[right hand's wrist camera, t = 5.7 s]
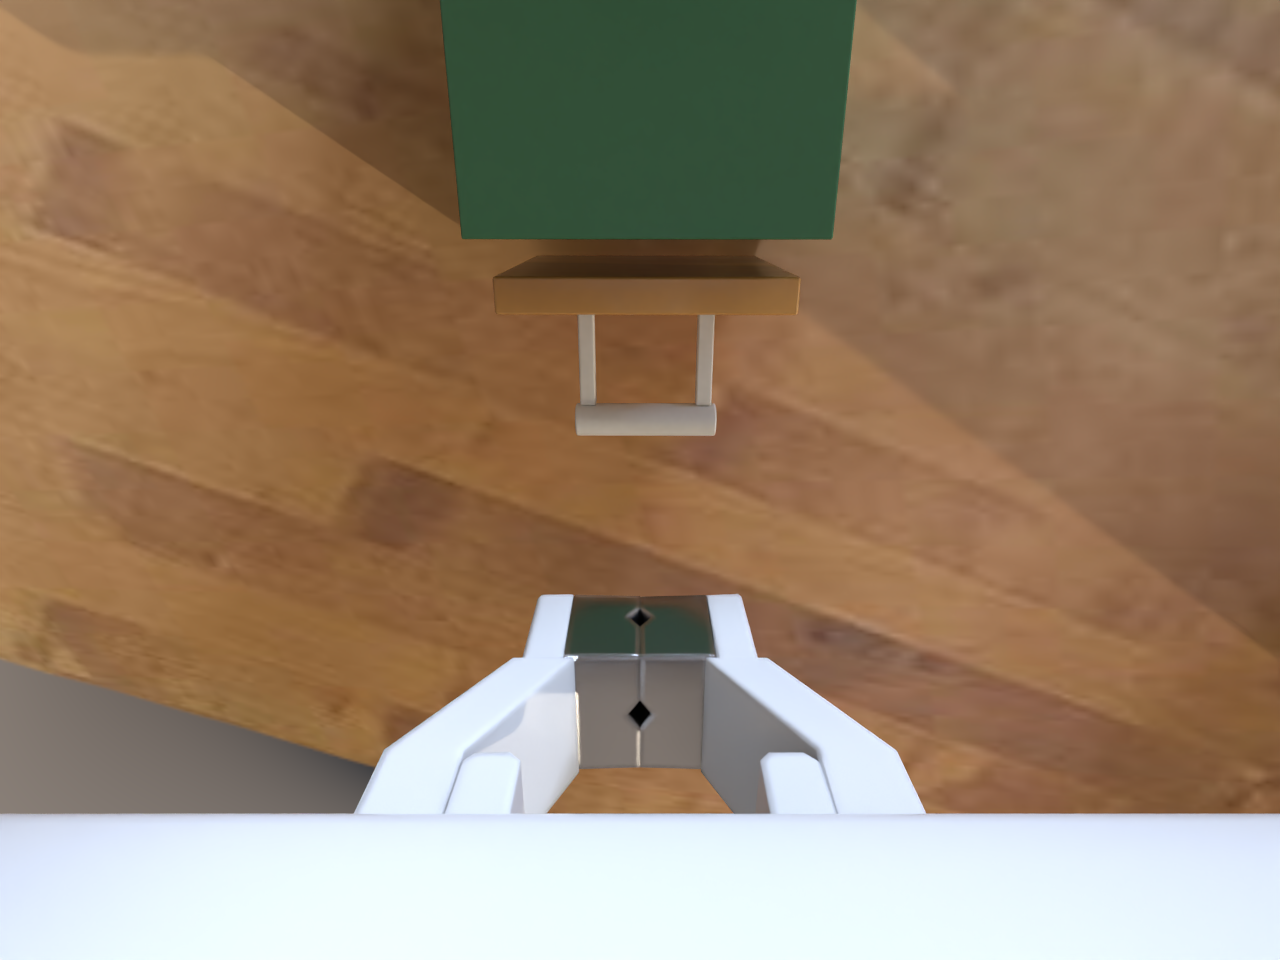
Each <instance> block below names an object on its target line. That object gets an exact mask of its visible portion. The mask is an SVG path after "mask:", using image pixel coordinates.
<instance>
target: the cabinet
mask: <svg viewBox="0 0 1280 960" xmlns="http://www.w3.org/2000/svg"><path fill="white" fill-rule="evenodd" d="M856 1H857V0H440V8H441V18H442V29H443V40H444V51H445V62H446V73H447V84H448V95H449V106H450V116H451V127H452V138H453V149H454V160H455V171H456V182H457V193H458V204H459V214H460V225H461V236H462V239H832V238H833V230H834V220H835V210H836V200H837V190H838V180H839V170H840V160H841V150H842V140H843V130H844V120H845V110H846V100H847V90H848V80H849V70H850V60H851V50H852V40H853V30H854V20H855V11H856Z"/></svg>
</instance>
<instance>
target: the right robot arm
mask: <svg viewBox="0 0 1280 960" xmlns="http://www.w3.org/2000/svg"><path fill="white" fill-rule="evenodd" d="M628 767H650V768H686V769H701V772H702V774H703V775H704V776H705V777H706V779H707V780H708V781H709V782H710V784H711V785H712V786H713V788H714V789H715V790H716V791H717V793H718V794H719V795H720V796H721V798H722V799H723V800H724V801H725V803H726V804H727V805H728V807H729V808H730V809H731V810H732V812H733V813H734V814H546V813H547V812H548V811H549V810H550V808H551V807H552V806H553V805H554V803H555V802H556V801H557V800H558V798H559V797H560V796H561V794H562V793H563V792H564V791H565V789H566V788H567V787H568V786H569V784H570V783H571V782H572V781H573V779H574V778H575V777H576V775H577V774H578V773H579V769H593V768H628ZM0 960H1280V814H926V812H925V810H924V808H923V806H922V804H921V802H920V799H919V797H918V795H917V793H916V791H915V789H914V787H913V785H912V782H911V780H910V778H909V776H908V774H907V772H906V770H905V768H904V765H903V763H902V761H901V759H900V757H899V755H898V753H897V751H896V750H895V749H894V748H892V747H891V746H889V745H888V744H887V743H885V742H884V741H882V740H881V739H880V738H878V737H877V736H875V735H874V734H873V733H871V732H870V731H868V730H867V729H866V728H864V727H863V726H861V725H860V724H859V723H857V722H856V721H855V720H853V719H852V718H850V717H849V716H848V715H846V714H845V713H843V712H842V711H841V710H839V709H838V708H836V707H835V706H834V705H832V704H831V703H829V702H828V701H827V700H825V699H824V698H822V697H821V696H820V695H818V694H817V693H815V692H814V691H813V690H811V689H810V688H809V687H807V686H806V685H804V684H803V683H802V682H800V681H799V680H797V679H796V678H795V677H793V676H792V675H790V674H789V673H788V672H786V671H785V670H783V669H782V668H781V667H779V666H778V665H776V664H775V663H774V662H772V661H771V660H769V659H768V658H758V657H757V654H756V650H755V646H754V642H753V639H752V635H751V631H750V627H749V624H748V620H747V616H746V612H745V609H744V605H743V601H742V597H741V596H740V595H738V594H726V595H693V596H652V597H640V596H612V595H575V596H573V594H558V595H541V596H540V597H539V598H538V600H537V604H536V608H535V612H534V616H533V619H532V623H531V627H530V631H529V635H528V638H527V642H526V646H525V650H524V654H523V657H522V658H512V659H511V660H509V661H508V662H506V663H505V664H504V665H502V666H501V667H499V668H498V669H497V670H495V671H494V672H492V673H491V674H490V675H488V676H487V677H485V678H484V679H483V680H481V681H480V682H478V683H477V684H476V685H474V686H473V687H471V688H470V689H469V690H467V691H466V692H464V693H463V694H462V695H460V696H459V697H457V698H456V699H455V700H453V701H452V702H450V703H449V704H448V705H446V706H445V707H443V708H442V709H441V710H439V711H438V712H436V713H435V714H434V715H432V716H431V717H429V718H428V719H427V720H425V721H424V722H422V723H421V724H420V725H418V726H417V727H415V728H414V729H412V730H411V731H410V732H408V733H407V734H405V735H404V736H403V737H401V738H400V739H398V740H397V741H396V742H394V743H393V744H391V745H390V746H389V747H387V748H386V749H384V751H383V753H382V755H381V758H380V760H379V762H378V764H377V766H376V768H375V770H374V772H373V774H372V776H371V779H370V781H369V783H368V785H367V787H366V789H365V791H364V793H363V795H362V797H361V800H360V802H359V804H358V806H357V808H356V810H355V812H354V814H0Z"/></svg>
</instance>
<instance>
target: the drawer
mask: <svg viewBox="0 0 1280 960" xmlns="http://www.w3.org/2000/svg"><path fill="white" fill-rule="evenodd" d="M800 284H801V279H800V277H798V276H796V275H794V274H791V273H789V272H787V271H785V270H783V269H781V268H779V267H777V266H775V265H772V264H770V263H768V262H766V261H764V260H762V259H760V258H758V257H756V256H536V257H534V258H532V259H530V260H528V261H526V262H524V263H522V264H520V265H517V266H515V267H513V268H511V269H509V270H507V271H505V272H503V273H501V274H499V275H497V276H495V277H493V290H494V302H495V312H496V314H498V315H578V344H579V374H580V403H577V404H576V409H575V429H576V434H577V435H606V436H713V435H715V432H716V406H715V404H713V403H711V396H712V371H713V347H714V322H715V315H796V314H797V313H798V307H799V295H800ZM595 315H698V320H697V351H696V383H695V403H596V401H597V397H596V356H595Z"/></svg>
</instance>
